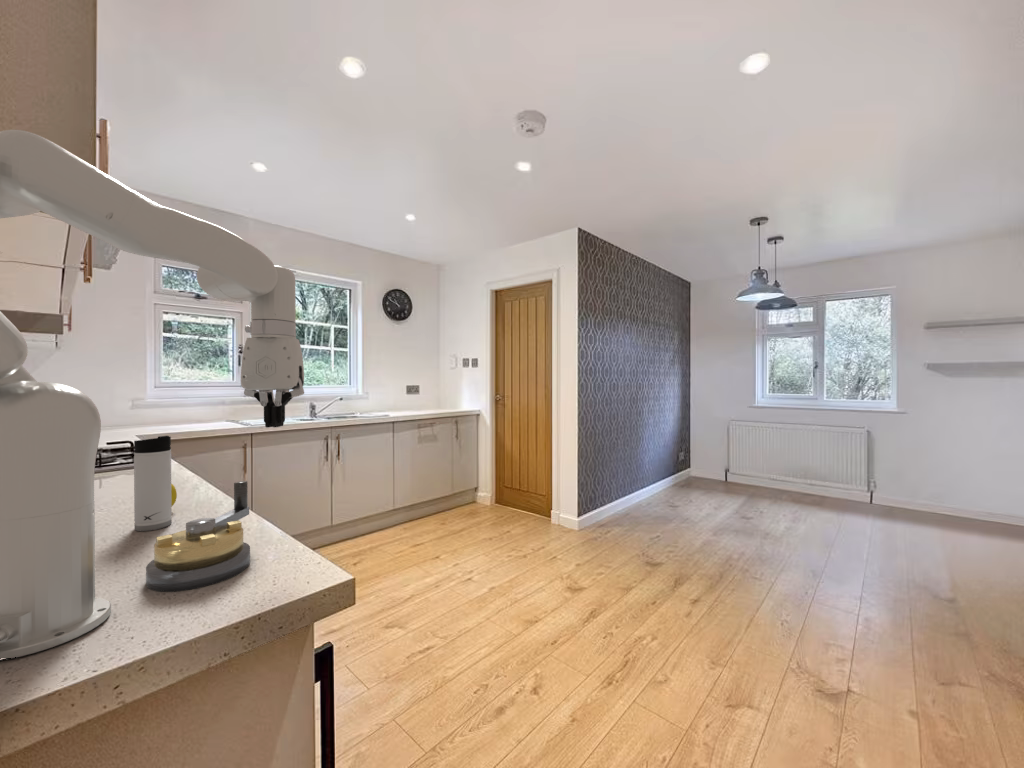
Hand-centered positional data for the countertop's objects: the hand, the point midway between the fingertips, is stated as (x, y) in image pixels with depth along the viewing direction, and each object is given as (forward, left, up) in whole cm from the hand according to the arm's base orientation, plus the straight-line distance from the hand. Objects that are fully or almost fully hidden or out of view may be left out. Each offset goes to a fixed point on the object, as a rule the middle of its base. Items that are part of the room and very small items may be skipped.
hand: (274, 426), depth 82 cm
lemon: (+22, +39, -23) cm, 50 cm away
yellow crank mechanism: (-8, +7, -20) cm, 23 cm away
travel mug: (+12, +33, -23) cm, 42 cm away
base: (-11, +7, -23) cm, 26 cm away
